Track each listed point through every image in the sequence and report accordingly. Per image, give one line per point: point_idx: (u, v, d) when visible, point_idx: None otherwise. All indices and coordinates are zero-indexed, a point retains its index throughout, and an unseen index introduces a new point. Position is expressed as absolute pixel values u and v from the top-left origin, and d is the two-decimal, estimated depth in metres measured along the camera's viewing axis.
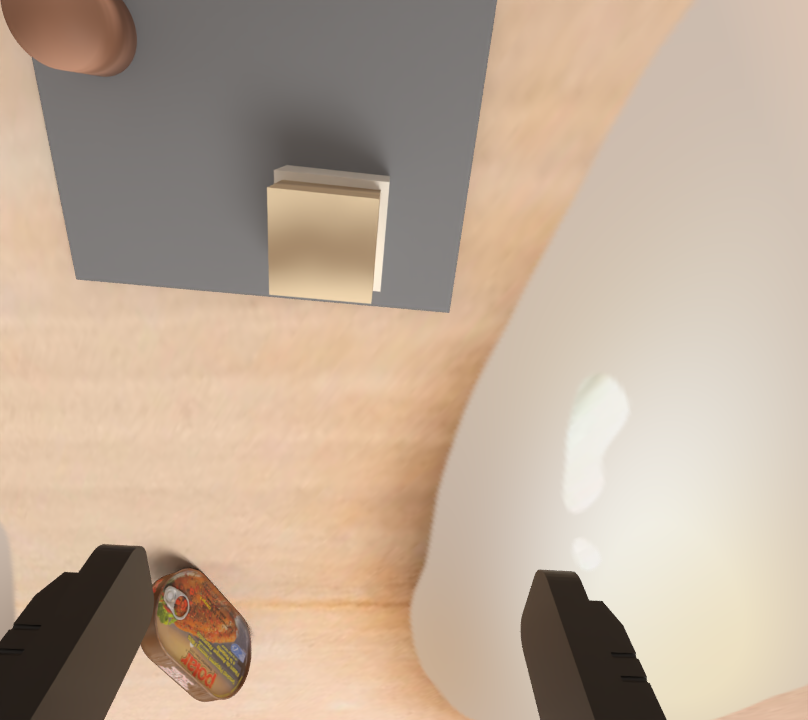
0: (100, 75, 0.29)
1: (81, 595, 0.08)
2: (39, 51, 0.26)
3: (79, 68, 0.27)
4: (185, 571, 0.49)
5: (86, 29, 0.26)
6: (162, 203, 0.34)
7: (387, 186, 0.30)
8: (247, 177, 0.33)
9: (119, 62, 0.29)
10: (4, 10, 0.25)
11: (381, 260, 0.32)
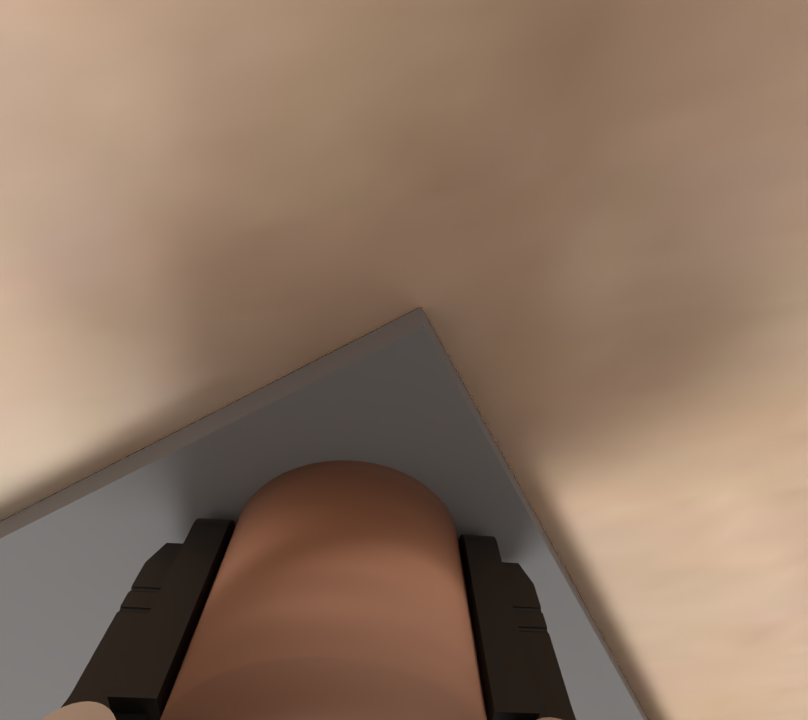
0: None
1: (191, 561, 0.09)
2: None
3: None
4: None
5: None
6: None
7: None
8: None
9: None
10: (224, 659, 0.06)
11: None
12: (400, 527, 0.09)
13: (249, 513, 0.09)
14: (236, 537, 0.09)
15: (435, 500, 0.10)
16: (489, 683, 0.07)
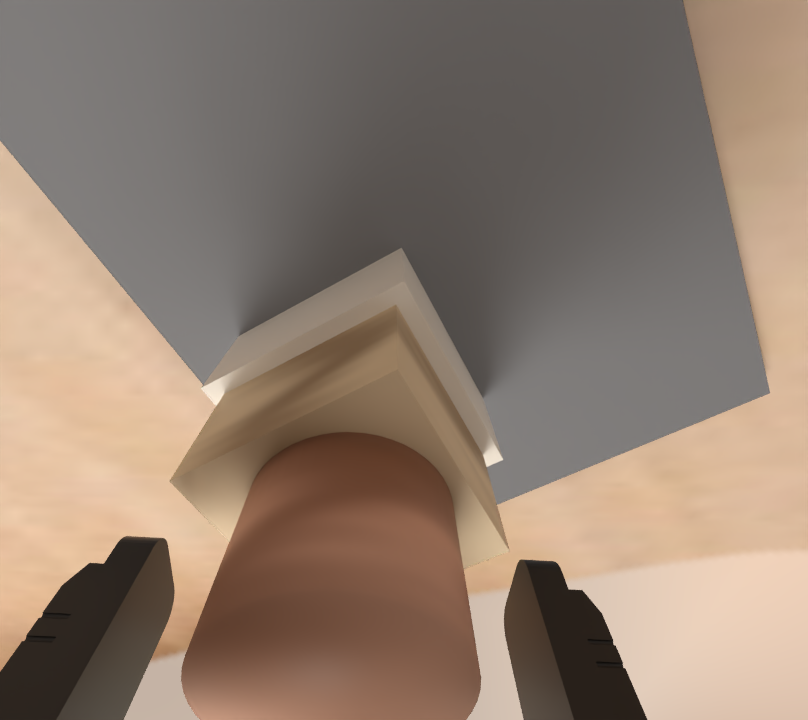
0: None
1: (108, 584, 0.08)
2: (213, 691, 0.08)
3: None
4: None
5: None
6: (161, 44, 0.14)
7: (495, 460, 0.16)
8: (335, 192, 0.16)
9: None
10: (245, 594, 0.07)
11: None
12: (400, 489, 0.09)
13: (261, 479, 0.10)
14: (250, 500, 0.10)
15: (432, 469, 0.11)
16: None
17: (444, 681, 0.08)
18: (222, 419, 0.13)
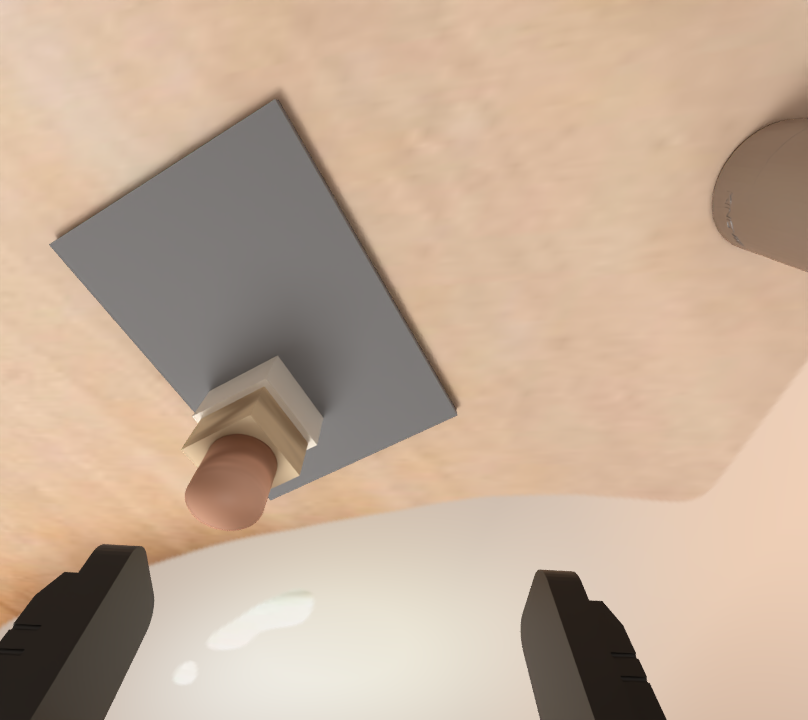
0: None
1: (81, 595, 0.08)
2: (193, 501, 0.31)
3: None
4: None
5: (235, 521, 0.32)
6: (176, 285, 0.37)
7: (313, 445, 0.39)
8: (247, 334, 0.39)
9: None
10: (200, 473, 0.30)
11: None
12: (248, 450, 0.32)
13: (209, 448, 0.33)
14: None
15: (265, 445, 0.34)
16: None
17: (253, 499, 0.31)
18: (199, 429, 0.36)
